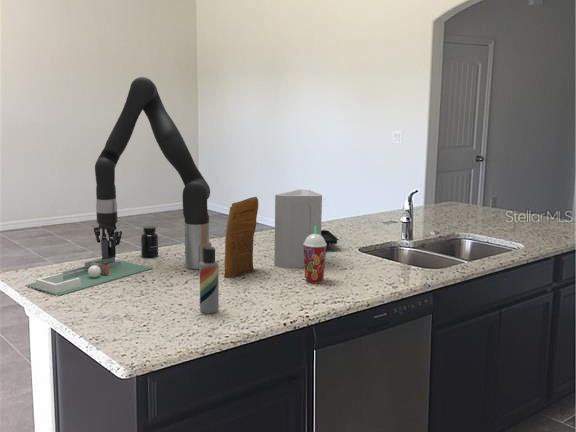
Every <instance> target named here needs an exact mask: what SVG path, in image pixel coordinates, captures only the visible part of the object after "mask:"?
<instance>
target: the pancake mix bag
mask: <svg viewBox="0 0 576 432" xmlns="http://www.w3.org/2000/svg"><path fill="white" fill-rule="evenodd" d="M258 211H259V199H258V197H257V196H253V197H252V196H251V197H248V198H246V199H243V200H240V201H237V202H233V203H231V206H229V212H228V215H227V216H228V217H227V222H226V228H225V238H224V239H225V240H224V274H223V277H224V278H236V276H237V277H239V276H241V275H244V274H247V273H250V272H253V271H254V237H255V232H256V229H257V216H258V213H259V212H258Z"/></svg>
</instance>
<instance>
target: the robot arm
mask: <svg viewBox="0 0 576 432" xmlns="http://www.w3.org/2000/svg"><path fill="white" fill-rule="evenodd" d="M142 111H143V112H144V114H145V115H146V117H147V120H148V122H149V125H150V128H151V131H152V134H153V136H154V139H155V141H156V143H157V146H158V147H159V149H160V151H161V153H162V154H163V156H164V158H165V159H166V160H167V161H168V162H169V163H170V165H171V166H172V167H173V168H174V169H175V170H176V171H177V173H178V175H179V176H180V179H181V181H182V183H183V185H184V187H183V189H182V213H183V218H184V257H185V258H184V259H185V260H184V261H185V262H184V264H185V265H184V266H185V268H186V269H188V270H200V262H202V261H203V248H204V247H205V246H207V247H212V242H211V241H210V216H209V212H208V199H209V198H210V196H211V189H210V185H209V184H208V182H207V181H206V179H205V178H204V176H203V174H202V173H201V172H200V170H199V169H198V167H197V165H196V163H195V160H194V159H193V157H192V155H191V152H190V151H189V148H188V146H187V143H186V142H185V140H184V138H183V136H182V135H181V132H180V130H179V129H178V126H177V125H176V123H175V122H174V121H173V119H172V117H171V116H170V115H169V113H168V112H167V110H166V108H165V106H164V104H163V102H162V99H161V97H160V94H159V91H158V89H157V86H156V84H155V82H153V80H151V79H150V78H148V77H144V76H140V77H137V78H135V79H134V80H133V81H132V82H131V84H130V87H129V89H128V93H127V97H126V99H125V102H124V105H123V108H122V110H121V112H120V115H119V116H118V119H117V121H116V122H115V124H114V126H113V128H112V130H111V132H110V134H109V136H108V138H107V140H106V143H105V144H104V148H103V149H102V151H101V153H100V154H99V156H98V158H97V160H96V161H95V164H94V173H95V174H94V175H95V183H96V184H95V185H96V187H95V188H96V189H95V190H96V191H95V195H96V197H95V198H96V202H95V208H96V210H95V211H96V223H97V224H98V226H96V227H93V233H94V235H95V240H96V242H97V243H98V244H100V245H101V239H106V238H107V241H109V246H110V247H109V255H110V256H115V254H116V247H117V246H119V245H120V243H121V238H122V235H123V230H118V228H117V226H116V225H117V223H118V220H119V219H118V203H117V191H116V189H117V188H116V184H115V183H116V182H115V180H116V178H115V176H116V171H115V170H116V166H117V165H118V161H119V160H120V158H121V156H122V154H123V153H124V152H125V150H126V148H127V146H128V144H129V142H130V140H131V137H132V135H133V132H134V130H135V127H136V124H137V122H138V119H139V117H140V115H141V113H142ZM112 240H113V243H112Z"/></svg>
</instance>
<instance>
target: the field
mask: <svg viewBox="0 0 576 432" xmlns="http://www.w3.org/2000/svg"><path fill="white" fill-rule="evenodd" d="M120 261H121V265H118V266H114V267H111V268H109V274H108V275H103V274H100V275H99V276H98V277H95V278H93V277H91V276H89V274H85V275H81V276H77V277H73V278H70V279H66V280H63V282H64V281H68V280H72V279H75V278H80V284H81V287H78V288H74V289H71V290H67V291H64V292H60V293H57V294H54V293H51V292H48V291H45V292H44V293H46V292H47V293H46V294H49V293H51V294H50V295H53V294H54V296H56V295H57V297H60V295H61V296H65V295H68V294H71V293H74V292H78V291H82V290H85V289H88V288H91V287H95V286H99V285H102V284H105V283H109V282H112V281H116V280H119V279H122V278H126V277H129V276H130V277H131V276H133V275H137V274H140V273H144V272H146V271H150V270H153V267H150V266H146V265H143V264H137V263H133V262H129V261H124V260H120ZM27 286H28V288H30V287H31V289H33V288H35V289H34V290H36V289H38V288H36V281H35V282H33V283H28V284H25V287H27ZM40 290H41V289H38V290H37V291H40ZM43 291H44V290H41V292H43ZM64 294H65V295H64Z"/></svg>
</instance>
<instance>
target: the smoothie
mask: <svg viewBox="0 0 576 432" xmlns="http://www.w3.org/2000/svg"><path fill="white" fill-rule="evenodd" d="M326 245H327V243H326V242H325V240H324V238H323V237H322V236H321V235H319V234H316V226H314V234H311V235H309V236H308V237H307V238H306V239H305V241H304V243H303V247H304V269H303V270H304V271H303V272H304V278H305V281H306V282H307V283H310V284H319V283H322V282H323V279H324V275H325V266H326V254H327V246H326Z"/></svg>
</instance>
